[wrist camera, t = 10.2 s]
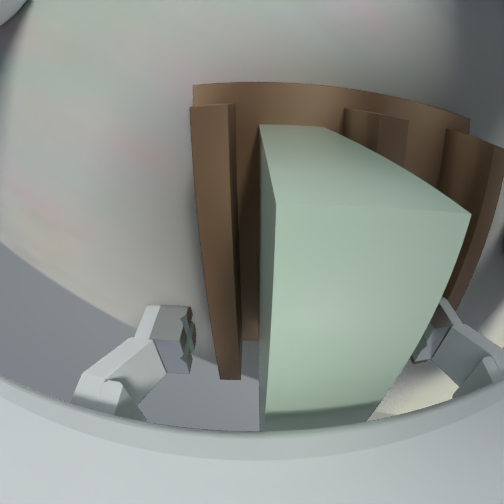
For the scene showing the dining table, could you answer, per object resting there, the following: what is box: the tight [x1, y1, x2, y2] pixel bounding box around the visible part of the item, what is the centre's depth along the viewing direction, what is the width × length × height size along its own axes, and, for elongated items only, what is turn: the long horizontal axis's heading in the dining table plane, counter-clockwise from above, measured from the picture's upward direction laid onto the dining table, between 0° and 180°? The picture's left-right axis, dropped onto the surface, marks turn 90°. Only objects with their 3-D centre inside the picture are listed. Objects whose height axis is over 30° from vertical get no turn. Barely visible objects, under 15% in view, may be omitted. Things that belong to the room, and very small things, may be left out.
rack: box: [190, 82, 504, 380], centre depth 14 cm, size 15×16×6 cm
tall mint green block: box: [258, 124, 472, 431], centre depth 11 cm, size 3×12×10 cm, turn 0°
